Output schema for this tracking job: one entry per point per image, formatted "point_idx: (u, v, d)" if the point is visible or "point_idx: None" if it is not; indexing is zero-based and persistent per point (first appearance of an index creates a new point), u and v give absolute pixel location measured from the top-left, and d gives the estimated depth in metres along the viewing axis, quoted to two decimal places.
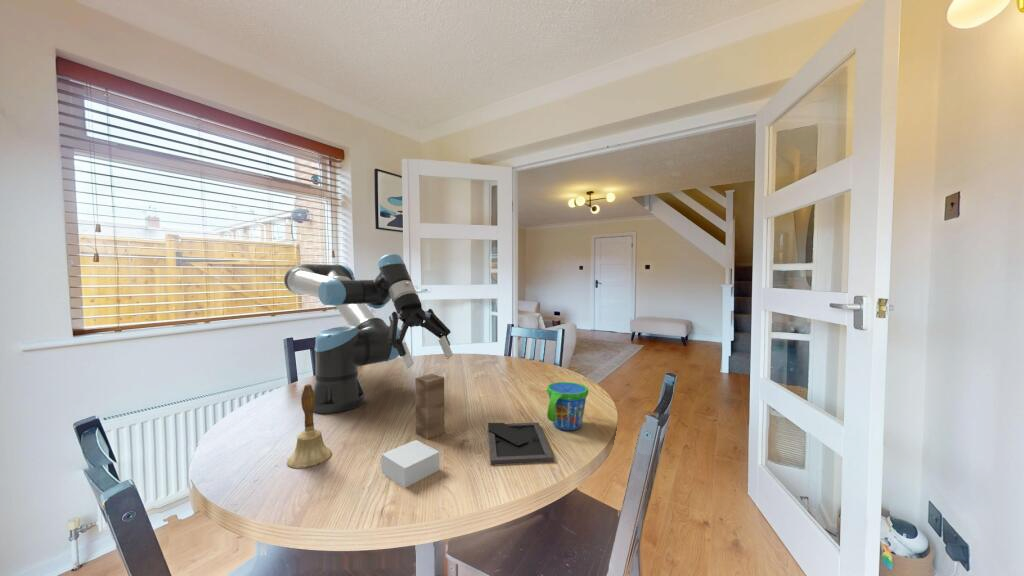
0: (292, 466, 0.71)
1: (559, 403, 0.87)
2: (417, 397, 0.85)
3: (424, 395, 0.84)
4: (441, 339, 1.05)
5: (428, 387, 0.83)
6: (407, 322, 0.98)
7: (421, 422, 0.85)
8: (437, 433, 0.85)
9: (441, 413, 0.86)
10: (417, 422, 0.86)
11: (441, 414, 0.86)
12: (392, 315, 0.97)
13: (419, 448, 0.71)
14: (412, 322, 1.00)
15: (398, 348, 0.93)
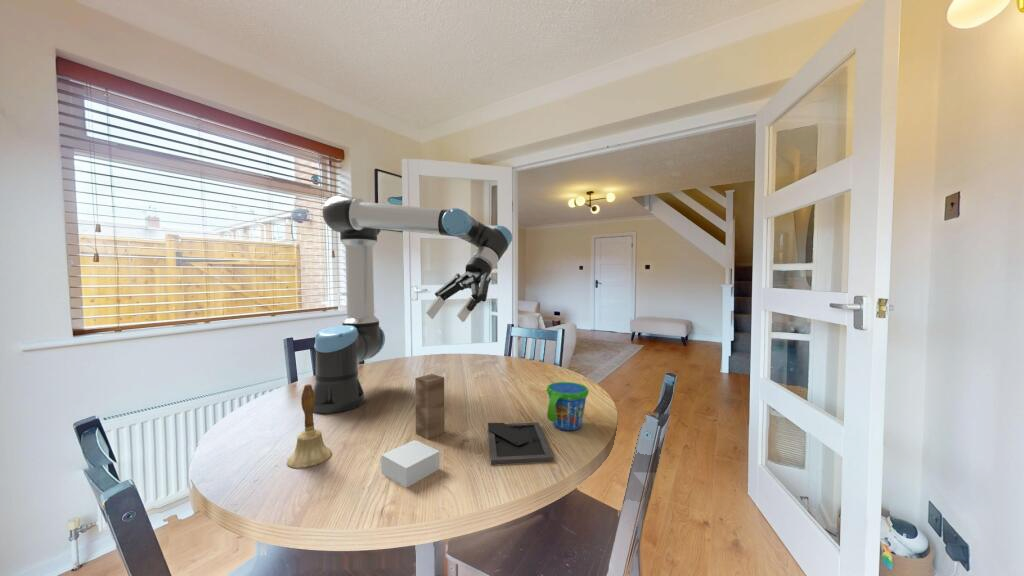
0: (292, 466, 0.71)
1: (559, 403, 0.87)
2: (417, 397, 0.85)
3: (424, 395, 0.83)
4: (441, 300, 1.04)
5: (428, 387, 0.83)
6: (478, 289, 1.02)
7: (421, 422, 0.85)
8: (437, 433, 0.85)
9: (441, 413, 0.86)
10: (417, 422, 0.86)
11: (441, 414, 0.86)
12: (489, 279, 1.01)
13: (419, 448, 0.71)
14: None
15: (474, 303, 0.94)
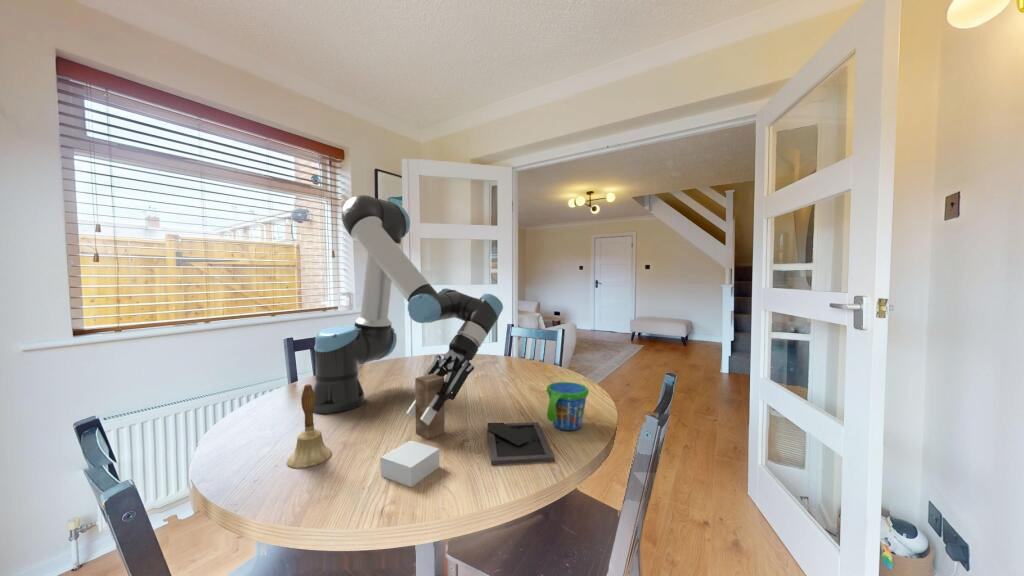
0: (292, 466, 0.71)
1: (559, 403, 0.87)
2: (417, 397, 0.85)
3: (424, 395, 0.83)
4: None
5: (427, 387, 0.83)
6: None
7: (421, 422, 0.85)
8: (437, 433, 0.85)
9: (441, 413, 0.86)
10: (417, 422, 0.86)
11: (441, 414, 0.86)
12: (471, 369, 0.88)
13: (417, 448, 0.71)
14: None
15: (441, 402, 0.84)
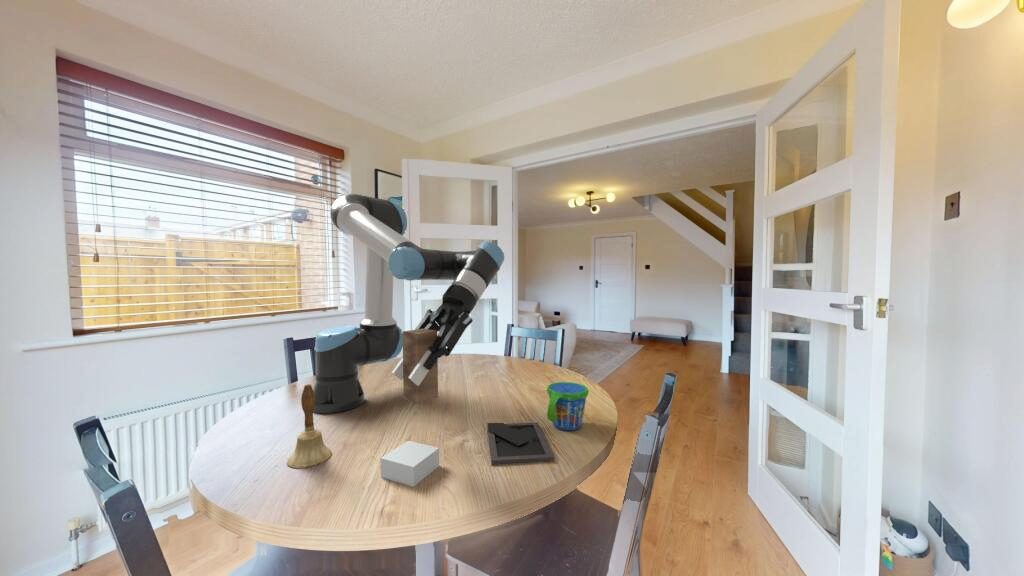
0: (292, 466, 0.71)
1: (559, 403, 0.87)
2: (405, 354, 0.71)
3: (414, 351, 0.69)
4: None
5: (417, 341, 0.69)
6: None
7: (410, 383, 0.70)
8: (429, 397, 0.71)
9: (434, 373, 0.72)
10: (405, 384, 0.71)
11: (434, 374, 0.72)
12: (469, 322, 0.74)
13: (417, 448, 0.71)
14: None
15: (434, 359, 0.70)
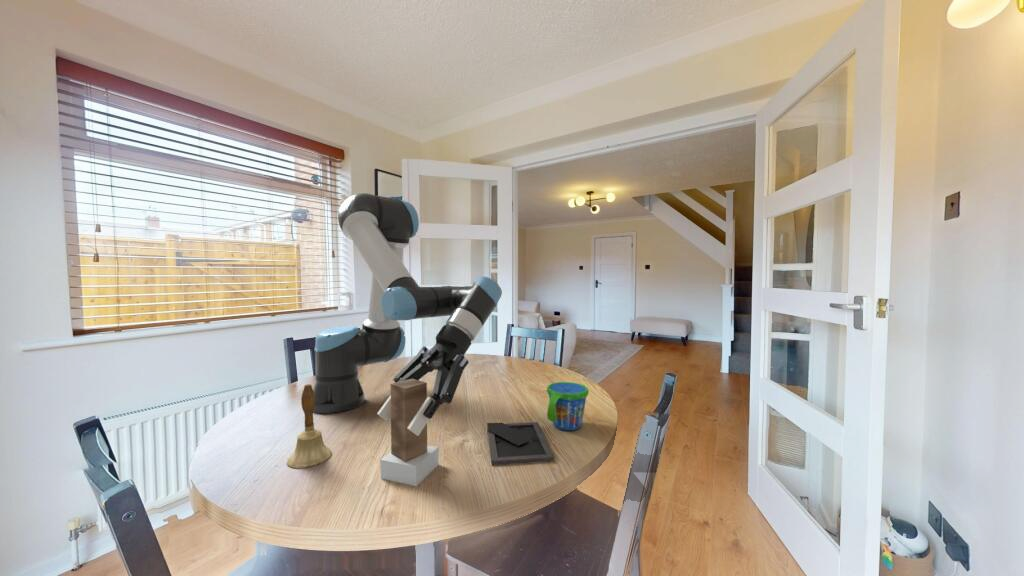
0: (292, 466, 0.71)
1: (559, 403, 0.87)
2: (393, 408, 0.69)
3: (401, 406, 0.67)
4: None
5: (405, 396, 0.66)
6: None
7: (397, 439, 0.68)
8: (418, 453, 0.68)
9: (423, 428, 0.69)
10: (393, 439, 0.69)
11: (423, 429, 0.69)
12: (465, 363, 0.71)
13: None
14: None
15: (435, 407, 0.66)
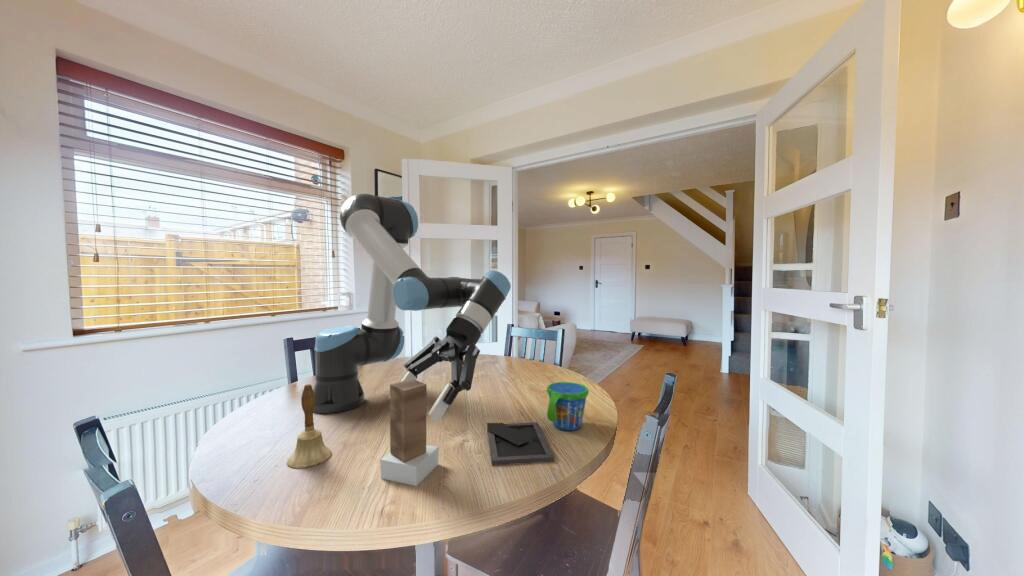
0: (292, 466, 0.71)
1: (559, 403, 0.87)
2: (392, 408, 0.68)
3: (400, 407, 0.66)
4: (412, 377, 0.77)
5: (404, 398, 0.65)
6: None
7: (396, 440, 0.67)
8: (416, 454, 0.68)
9: (422, 429, 0.69)
10: (392, 439, 0.68)
11: (422, 430, 0.69)
12: (477, 352, 0.73)
13: None
14: None
15: (454, 393, 0.67)
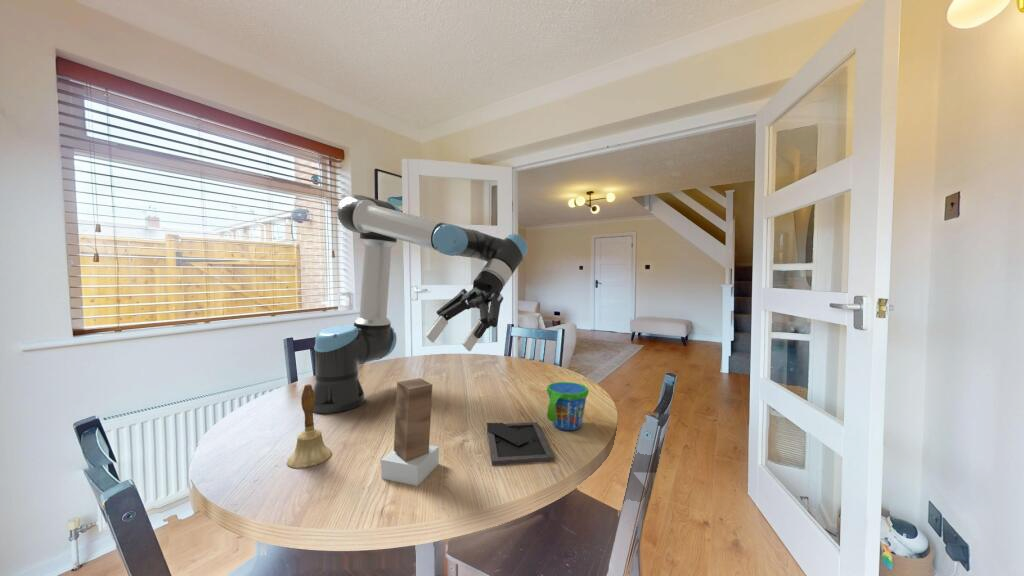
0: (292, 466, 0.71)
1: (559, 403, 0.87)
2: (397, 406, 0.69)
3: (405, 405, 0.66)
4: (444, 321, 0.89)
5: (409, 396, 0.66)
6: (487, 309, 0.87)
7: (400, 437, 0.68)
8: (419, 453, 0.68)
9: (425, 429, 0.69)
10: (396, 437, 0.69)
11: (425, 430, 0.69)
12: (501, 299, 0.86)
13: None
14: None
15: (483, 329, 0.79)
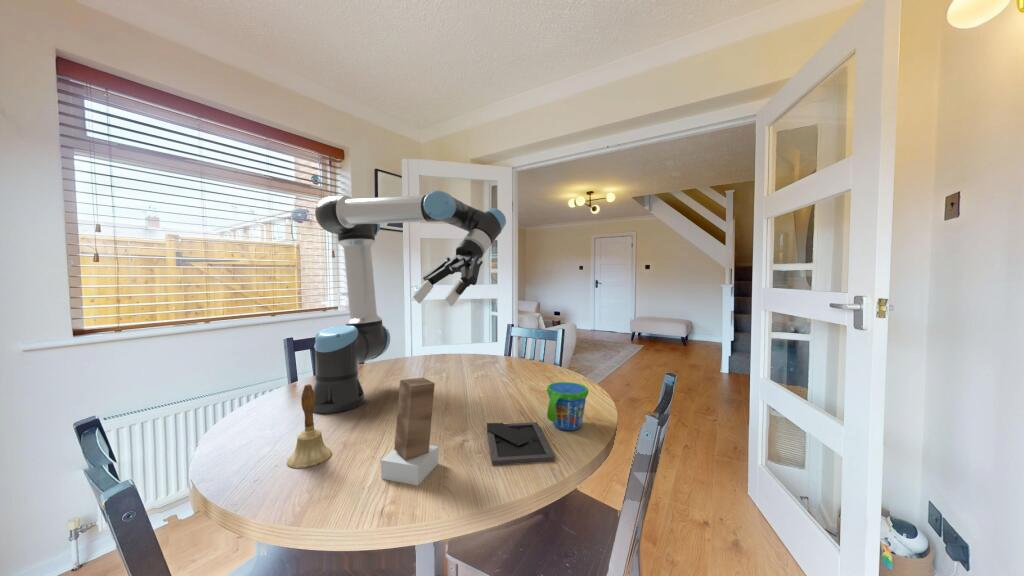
0: (292, 466, 0.71)
1: (559, 403, 0.87)
2: (400, 404, 0.70)
3: (407, 403, 0.67)
4: (430, 284, 0.98)
5: (411, 393, 0.67)
6: None
7: (401, 435, 0.68)
8: (419, 452, 0.68)
9: (426, 428, 0.69)
10: (397, 435, 0.69)
11: (426, 429, 0.69)
12: (480, 262, 0.95)
13: None
14: None
15: (464, 286, 0.89)
